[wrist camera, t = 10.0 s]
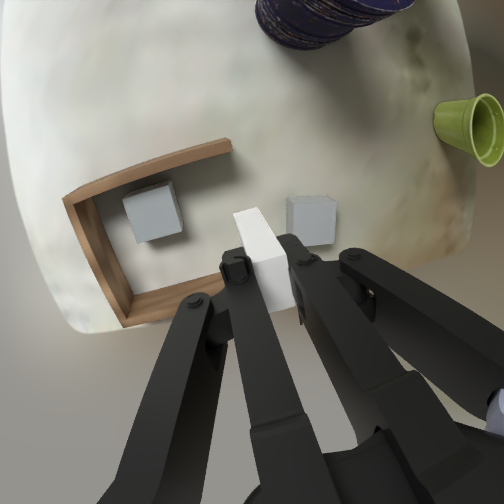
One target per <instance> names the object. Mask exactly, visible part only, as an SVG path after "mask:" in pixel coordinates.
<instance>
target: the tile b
mask: <svg viewBox="0 0 504 504" xmlns="http://www.w3.org/2000/svg"><path fill="white" fill-rule="evenodd" d="M336 209H337V201H336V200H334V199H332V198H331V197H329V196H328V195H319V196H301V197H286V234H288V233H291V234H293V235H296V236H297V237H298V239H299V240H300V241H301V242H302V244H303V245H304V246H314V245H323V244H332V243H334V238H335V225H336Z"/></svg>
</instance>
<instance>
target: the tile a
mask: <svg viewBox="0 0 504 504" xmlns="http://www.w3.org/2000/svg"><path fill="white" fill-rule="evenodd" d="M122 201H123V204H124V207H125V210H126V213H127V216H128V219H129V222H130V225H131V227H132V230H133V233H134V236H135V238H136V241H137V244H139V243H142V242H146V241H149V240H153V239H156V238H160V237H163V236H167V235H171V234H174V233H178V232H182V229H183V219H182V216H181V213H180V209H179V206H178V202H177V199H176V195H175V192H174V188H173V185H172V181H171V180H169V181H165V182H162V183H159V184H155V185H152V186H149V187H145V188H142V189H139V190H136V191H133V192H130V193H128V194H127V195H126V196H125V197H124V198H123V199H122Z"/></svg>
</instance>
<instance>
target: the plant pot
mask: <svg viewBox="0 0 504 504" xmlns="http://www.w3.org/2000/svg"><path fill="white" fill-rule="evenodd" d="M434 114H435V117H434V121H433V124H434V129H435V132H436V134H437V136H438V137H439V138H440V139H441V140H442V141H443V142H445V143H448V144H450V145H452V146H454V147H457V148H459V149H461V150H463V151H465V152H467V153H469V154H471V155H472V156H473V157H474V158H476V159H477V160H478V161H479V162H480V163H481V164H482V165H484V166H486V167H492V166H494V165H496V164H497V162H498V161H499V160H500V159H501V157H502V155H503V152H504V113H503V110H502V108H501V106H500V104H499V102H498V101H497V100H496V99H495V98H494V97H493V96H492V95H490V94H481V95H479V96H478V97H475V98H473V99H467V100H457V101H447V102H441V103H440V104H438V105H437V107H436V109H435V111H434Z"/></svg>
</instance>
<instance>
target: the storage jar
mask: <svg viewBox="0 0 504 504" xmlns="http://www.w3.org/2000/svg"><path fill="white" fill-rule="evenodd" d="M415 1H416V0H257V1H256V5H255V14H256V18H257V21H258V23H259V25H260V27H261V28H262V30H263V31H264V32H265V33H266V34H267V35H268V36H269V37H270V38H271V39H273V40H274V41H275V42H277V43H279V44H281V45H283V46H285V47H288V48H292V49H296V50H314V49H318V48H321V47H323V46H325V45H327V44H330V43H332V42H335V41H337V40H339V39H340V38H342V37H343V36H345V35H346V34H348V33H349V32H351V31H352V30H353V29H354V28H357V27H364V26H368V25H371V24H373V23H375V22H377V21H380V20H383V19H385V18H387V17H389V16H391V15H392V14H394V13H396V12H399V11H402V10H405V9H407V8H409V7H411V6H412V5H413V4H414V3H415Z"/></svg>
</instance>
